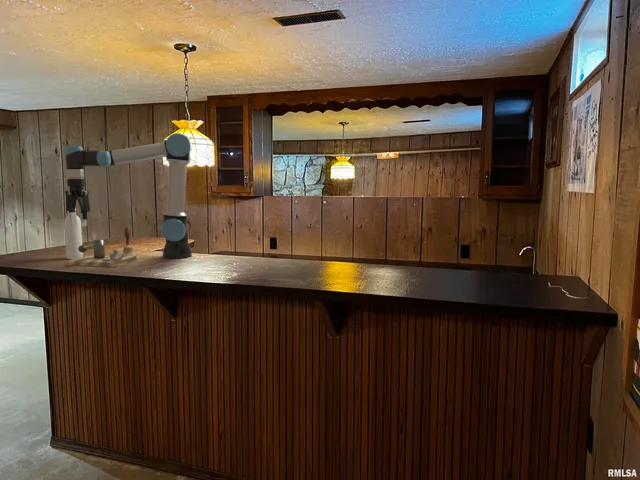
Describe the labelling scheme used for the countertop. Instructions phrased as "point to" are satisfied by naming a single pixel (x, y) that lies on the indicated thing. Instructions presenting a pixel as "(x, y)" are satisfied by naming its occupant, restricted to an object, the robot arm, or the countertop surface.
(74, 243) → the bottle
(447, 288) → the countertop surface
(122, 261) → the stand
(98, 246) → the metal mallet
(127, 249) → the hand bell
